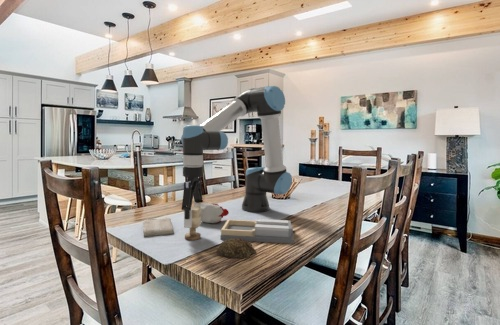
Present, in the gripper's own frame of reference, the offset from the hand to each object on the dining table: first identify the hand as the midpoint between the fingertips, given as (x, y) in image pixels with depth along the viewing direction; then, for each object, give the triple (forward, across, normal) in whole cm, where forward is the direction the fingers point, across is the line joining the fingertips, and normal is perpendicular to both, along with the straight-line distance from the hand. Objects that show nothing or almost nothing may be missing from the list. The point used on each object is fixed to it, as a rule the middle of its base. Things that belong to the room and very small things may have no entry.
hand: (192, 222), depth 111 cm
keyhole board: (+6, -8, +24) cm, 26 cm away
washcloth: (+7, -8, -18) cm, 21 cm away
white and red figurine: (+6, -22, +3) cm, 23 cm away
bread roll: (+7, +10, +19) cm, 23 cm away
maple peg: (+6, 0, 0) cm, 6 cm away
